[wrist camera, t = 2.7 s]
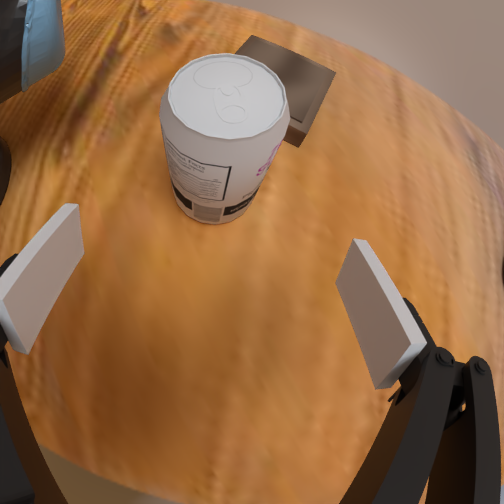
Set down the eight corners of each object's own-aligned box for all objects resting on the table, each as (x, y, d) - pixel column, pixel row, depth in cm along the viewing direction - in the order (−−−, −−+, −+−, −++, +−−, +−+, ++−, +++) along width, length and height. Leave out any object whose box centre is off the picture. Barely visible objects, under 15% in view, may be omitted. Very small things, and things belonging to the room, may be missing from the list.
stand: (204, 104, 32) (205, 86, 29) (248, 50, 35) (252, 33, 32) (298, 147, 33) (307, 132, 30) (328, 86, 36) (337, 71, 33)
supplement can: (168, 159, 30) (153, 56, 16) (244, 148, 32) (276, 46, 17) (180, 233, 29) (163, 160, 14) (262, 218, 31) (314, 141, 16)
